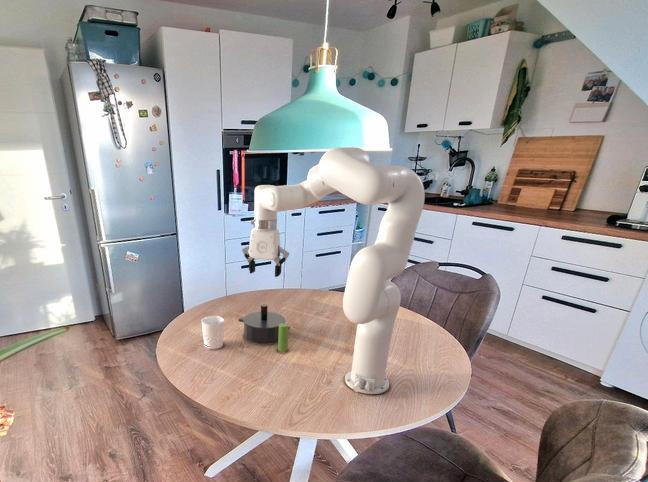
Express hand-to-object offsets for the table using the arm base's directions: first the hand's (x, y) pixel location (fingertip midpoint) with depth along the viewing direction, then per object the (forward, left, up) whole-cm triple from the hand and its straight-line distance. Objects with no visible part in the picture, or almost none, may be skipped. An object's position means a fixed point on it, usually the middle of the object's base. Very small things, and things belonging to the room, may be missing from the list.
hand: (264, 274), depth 136 cm
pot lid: (0, 0, -18) cm, 18 cm away
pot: (0, 0, -24) cm, 24 cm away
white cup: (-15, +13, -24) cm, 32 cm away
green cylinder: (-8, -11, -24) cm, 28 cm away
